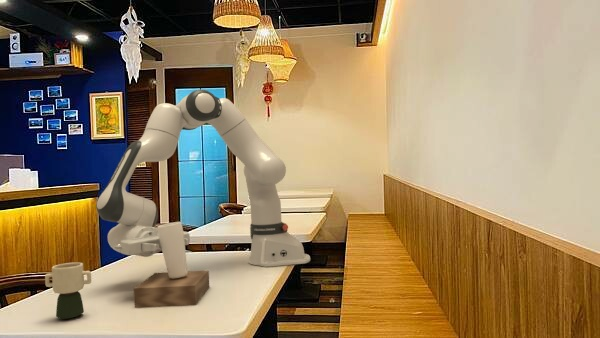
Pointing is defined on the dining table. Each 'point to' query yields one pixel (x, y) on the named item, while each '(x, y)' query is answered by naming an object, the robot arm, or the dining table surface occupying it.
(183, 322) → the dining table surface
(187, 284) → the walnut riser dock
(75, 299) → the character mug
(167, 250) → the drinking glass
